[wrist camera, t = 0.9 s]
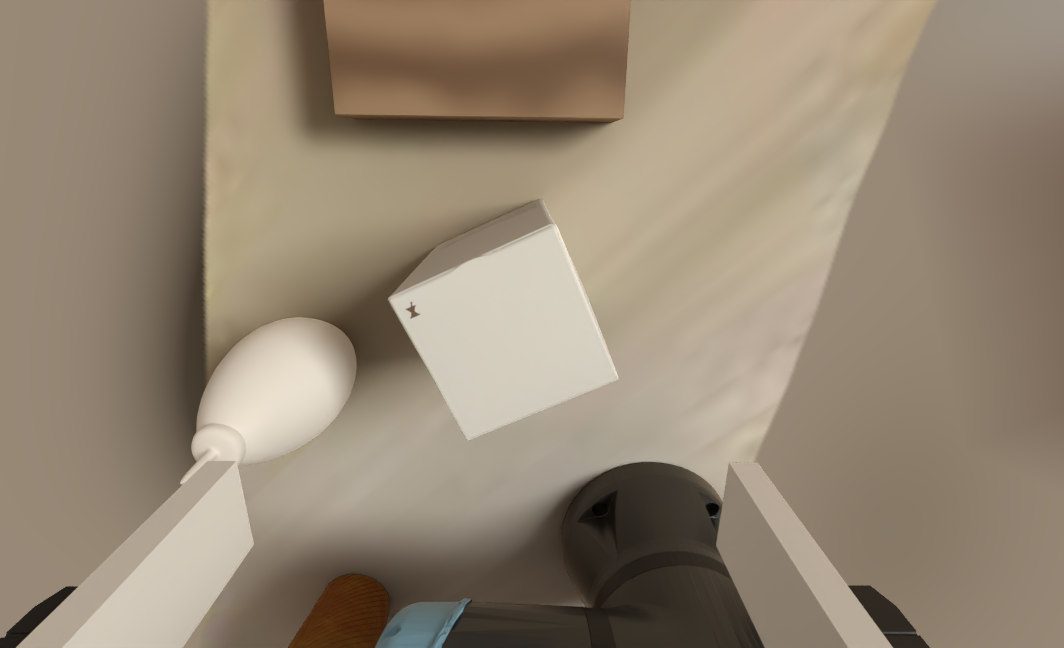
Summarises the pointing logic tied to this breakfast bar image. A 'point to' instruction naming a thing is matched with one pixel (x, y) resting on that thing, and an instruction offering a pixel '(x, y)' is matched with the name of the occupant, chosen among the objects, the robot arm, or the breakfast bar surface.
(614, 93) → the walnut riser
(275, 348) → the white teardrop-shaped piece
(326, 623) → the disposable coffee cup
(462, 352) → the supplement box
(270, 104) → the breakfast bar surface
